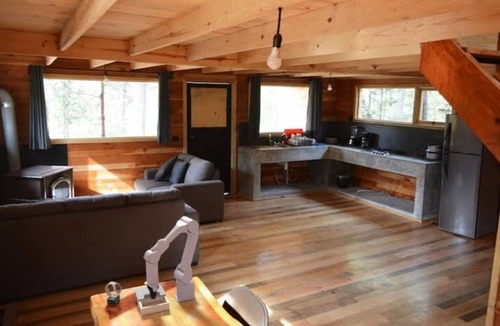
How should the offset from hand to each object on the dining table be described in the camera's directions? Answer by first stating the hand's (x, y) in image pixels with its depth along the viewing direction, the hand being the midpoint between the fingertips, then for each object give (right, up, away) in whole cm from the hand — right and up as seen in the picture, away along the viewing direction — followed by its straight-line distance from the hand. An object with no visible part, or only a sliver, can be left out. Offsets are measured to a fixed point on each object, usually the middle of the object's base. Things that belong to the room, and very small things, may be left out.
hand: (153, 298), depth 211 cm
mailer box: (0, -5, +2) cm, 5 cm away
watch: (-22, -5, +7) cm, 24 cm away
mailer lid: (-4, 0, +9) cm, 9 cm away
